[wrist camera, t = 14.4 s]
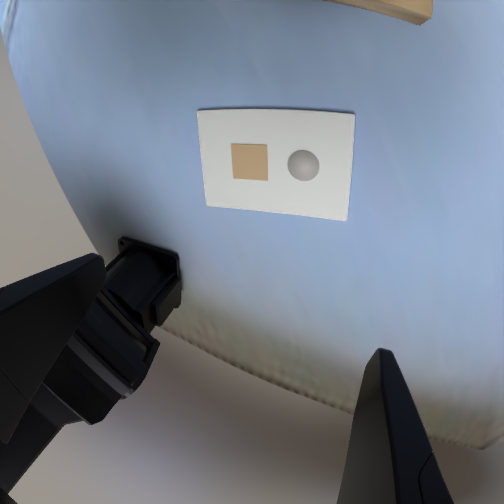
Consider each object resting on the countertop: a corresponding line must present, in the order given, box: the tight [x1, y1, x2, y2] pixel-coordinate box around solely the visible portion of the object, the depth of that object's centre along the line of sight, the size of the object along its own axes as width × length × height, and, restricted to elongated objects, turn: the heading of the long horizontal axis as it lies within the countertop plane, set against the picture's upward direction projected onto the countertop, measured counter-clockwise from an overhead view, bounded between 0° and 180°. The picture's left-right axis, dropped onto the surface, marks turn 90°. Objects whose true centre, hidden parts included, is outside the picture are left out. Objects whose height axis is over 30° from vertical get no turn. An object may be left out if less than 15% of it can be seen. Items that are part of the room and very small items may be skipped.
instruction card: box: [197, 109, 355, 221], centre depth 19 cm, size 10×7×1 cm
